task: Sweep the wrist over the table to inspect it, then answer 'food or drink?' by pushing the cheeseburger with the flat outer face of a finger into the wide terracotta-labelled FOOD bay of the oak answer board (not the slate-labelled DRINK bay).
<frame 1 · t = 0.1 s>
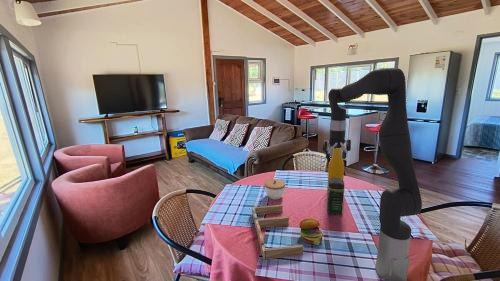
hand: (335, 159, 123), 29 cm above the table, fingers open, 8 cm apart
beer bottle: (334, 191, 151), on the table
cheeseburger: (310, 238, 108), on the table
lidded bowl: (274, 197, 146), on the table
coffee jar: (334, 211, 128), on the table
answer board: (275, 232, 112), on the table
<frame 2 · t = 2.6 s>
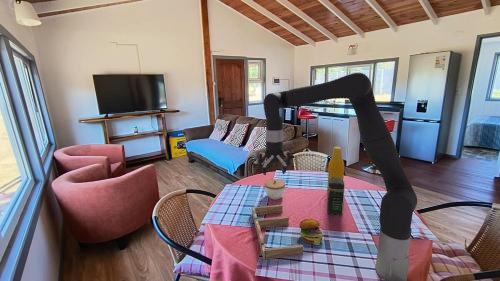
hand: (274, 173, 107), 29 cm above the table, fingers open, 8 cm apart
nothing on the table moved.
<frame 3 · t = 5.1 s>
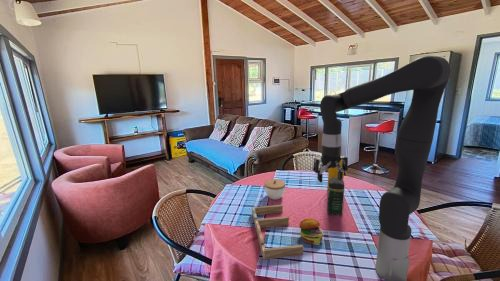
hand: (329, 180, 101), 28 cm above the table, fingers open, 8 cm apart
nothing on the table moved.
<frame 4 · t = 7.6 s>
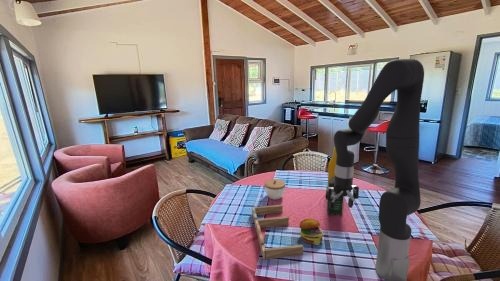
hand: (340, 207, 106), 14 cm above the table, fingers open, 8 cm apart
nothing on the table moved.
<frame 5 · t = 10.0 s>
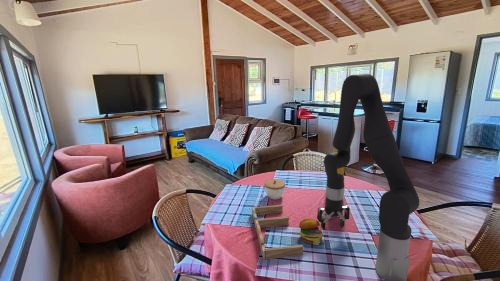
hand: (332, 227, 108), 4 cm above the table, fingers open, 8 cm apart
cheeseburger: (310, 238, 108), on the table, touching gripper
everything else where it was.
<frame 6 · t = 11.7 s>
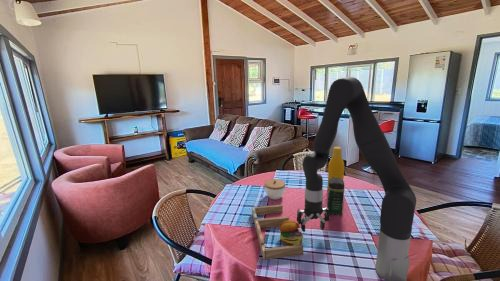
hand: (312, 230, 107), 4 cm above the table, fingers open, 8 cm apart
cheeseburger: (290, 240, 106), on the table, touching gripper
everything else where it was.
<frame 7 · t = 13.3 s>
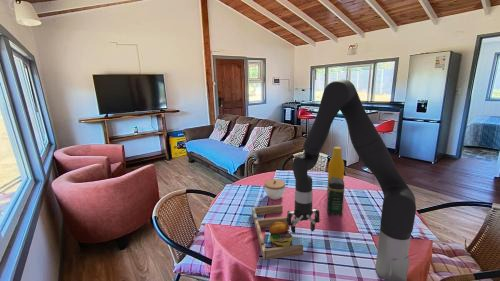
hand: (302, 231, 106), 4 cm above the table, fingers open, 8 cm apart
cheeseburger: (280, 242, 105), on the table, touching gripper
everything else where it was.
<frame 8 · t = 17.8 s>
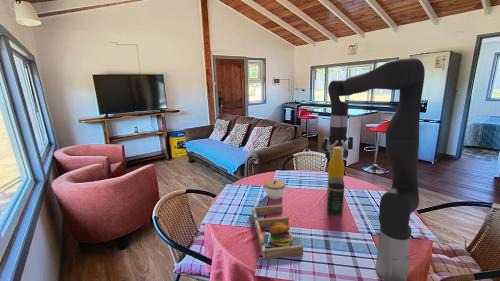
hand: (336, 158, 112), 33 cm above the table, fingers open, 8 cm apart
cheeseburger: (280, 243, 105), on the table
everything else where it was.
at the end: cheeseburger inside the target area on the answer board (2.4 cm from its centre), point 0.0 cm above the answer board's base; cheeseburger moved 14.2 cm from its start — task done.
